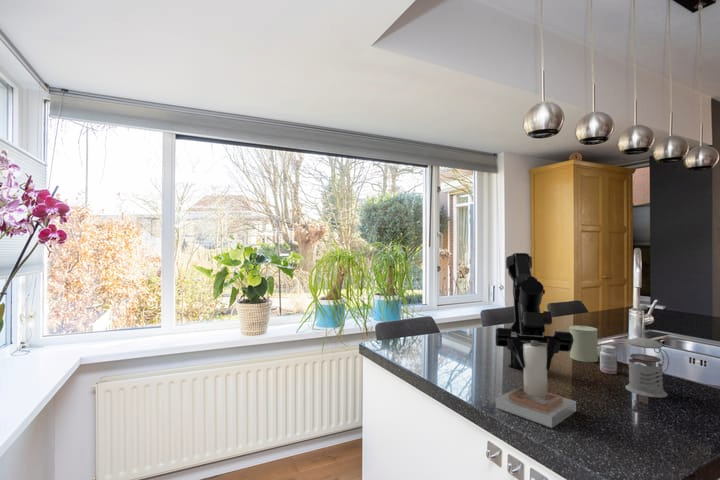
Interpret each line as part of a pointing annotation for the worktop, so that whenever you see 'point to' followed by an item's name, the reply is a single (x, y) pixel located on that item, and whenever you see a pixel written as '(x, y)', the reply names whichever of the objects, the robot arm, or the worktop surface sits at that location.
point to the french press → (646, 368)
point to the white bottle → (535, 368)
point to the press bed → (537, 406)
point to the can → (584, 344)
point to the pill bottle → (608, 359)
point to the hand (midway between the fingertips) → (535, 368)
